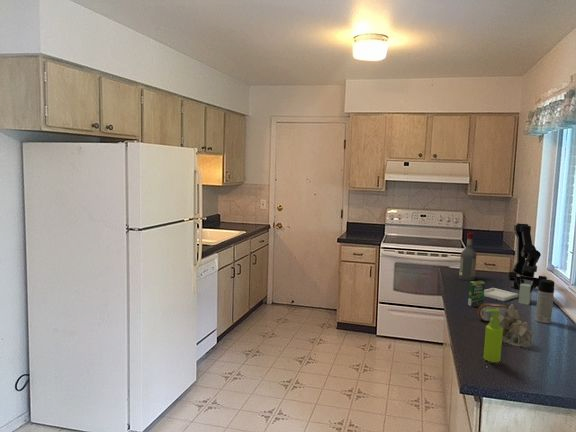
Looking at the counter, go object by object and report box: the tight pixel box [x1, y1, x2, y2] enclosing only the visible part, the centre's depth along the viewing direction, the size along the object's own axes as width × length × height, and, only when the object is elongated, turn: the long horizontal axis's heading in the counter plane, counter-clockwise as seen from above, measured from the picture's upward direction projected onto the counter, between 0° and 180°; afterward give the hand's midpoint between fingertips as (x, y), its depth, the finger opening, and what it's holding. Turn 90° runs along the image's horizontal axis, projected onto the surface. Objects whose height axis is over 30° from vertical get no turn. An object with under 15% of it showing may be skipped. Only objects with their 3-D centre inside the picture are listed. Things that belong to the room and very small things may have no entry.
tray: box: [484, 287, 519, 302], centre depth 274 cm, size 15×15×2 cm
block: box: [518, 282, 532, 306], centre depth 262 cm, size 5×5×10 cm
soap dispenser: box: [483, 309, 503, 362], centre depth 182 cm, size 6×7×20 cm
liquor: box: [458, 232, 477, 282], centre depth 310 cm, size 9×9×30 cm
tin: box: [476, 302, 509, 322], centre depth 229 cm, size 15×3×8 cm, turn 84°
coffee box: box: [467, 280, 486, 308], centre depth 253 cm, size 8×3×13 cm, turn 107°
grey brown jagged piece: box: [487, 303, 533, 347], centre depth 204 cm, size 16×16×15 cm
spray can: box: [534, 278, 555, 324], centre depth 231 cm, size 7×7×20 cm
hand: (524, 291), depth 260 cm, fingers closed on block, 5 cm apart
